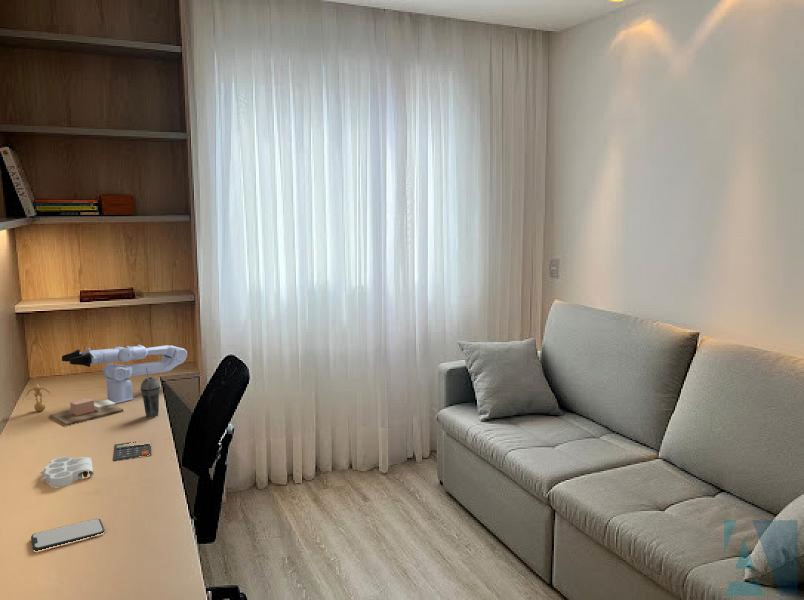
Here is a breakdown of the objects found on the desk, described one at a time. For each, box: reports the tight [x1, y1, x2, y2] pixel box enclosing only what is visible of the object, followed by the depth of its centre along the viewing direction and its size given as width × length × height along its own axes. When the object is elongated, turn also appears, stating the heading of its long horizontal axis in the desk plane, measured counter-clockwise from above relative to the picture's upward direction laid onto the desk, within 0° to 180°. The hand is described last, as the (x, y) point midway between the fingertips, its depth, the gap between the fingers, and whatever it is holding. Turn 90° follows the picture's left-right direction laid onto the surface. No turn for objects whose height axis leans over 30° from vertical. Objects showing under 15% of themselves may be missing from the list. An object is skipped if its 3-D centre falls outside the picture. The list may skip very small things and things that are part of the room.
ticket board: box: [49, 398, 124, 427], centre depth 253 cm, size 22×16×3 cm
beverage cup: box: [140, 368, 161, 418], centre depth 250 cm, size 7×7×20 cm
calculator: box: [112, 441, 152, 462], centre depth 216 cm, size 12×1×15 cm
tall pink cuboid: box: [69, 397, 95, 416], centre depth 252 cm, size 7×5×4 cm
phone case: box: [30, 518, 106, 551], centre depth 160 cm, size 9×2×16 cm
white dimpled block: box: [39, 456, 95, 488], centre depth 197 cm, size 3×18×15 cm
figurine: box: [26, 383, 51, 412], centre depth 256 cm, size 8×6×12 cm
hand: (66, 359), depth 253 cm, fingers open, 7 cm apart
